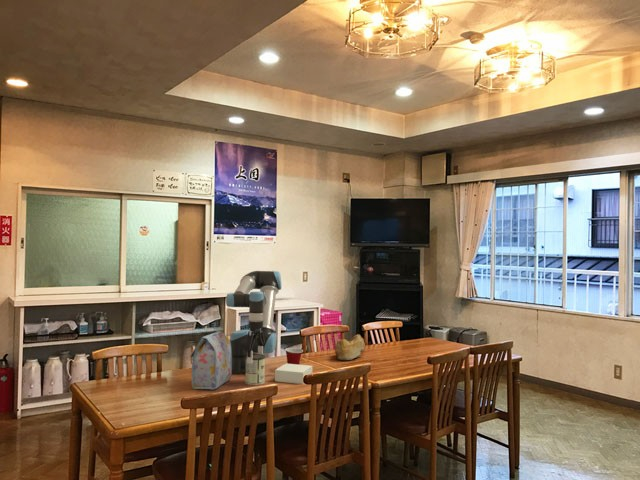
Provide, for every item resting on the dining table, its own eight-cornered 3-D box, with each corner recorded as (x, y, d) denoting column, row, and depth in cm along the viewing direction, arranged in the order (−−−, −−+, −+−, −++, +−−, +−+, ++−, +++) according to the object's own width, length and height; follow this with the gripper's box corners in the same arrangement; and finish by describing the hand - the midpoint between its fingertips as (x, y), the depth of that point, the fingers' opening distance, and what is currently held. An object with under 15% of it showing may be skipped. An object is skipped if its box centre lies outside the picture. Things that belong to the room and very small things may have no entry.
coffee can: (247, 379, 263) (248, 353, 263) (266, 380, 262) (266, 354, 262) (242, 384, 253) (243, 357, 253) (262, 385, 251) (262, 358, 252)
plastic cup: (300, 372, 279) (300, 351, 280) (282, 371, 282) (282, 350, 282) (304, 368, 290) (305, 348, 290) (287, 367, 292) (287, 347, 292)
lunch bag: (204, 377, 265) (205, 329, 266) (233, 379, 262) (234, 330, 263) (186, 389, 243) (187, 336, 243) (218, 391, 240) (219, 337, 241)
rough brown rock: (350, 354, 334) (349, 332, 335) (368, 356, 322) (367, 334, 323) (326, 360, 318) (325, 337, 319) (344, 362, 306) (343, 339, 307)
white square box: (274, 381, 260) (275, 369, 260) (285, 374, 276) (285, 363, 276) (302, 384, 256) (303, 372, 256) (312, 376, 271) (312, 365, 271)
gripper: (252, 324, 245) (251, 366, 244) (271, 318, 269) (270, 356, 268) (239, 323, 247) (238, 365, 246) (259, 317, 271) (258, 355, 270)
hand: (255, 360), depth 257 cm, fingers open, 13 cm apart
